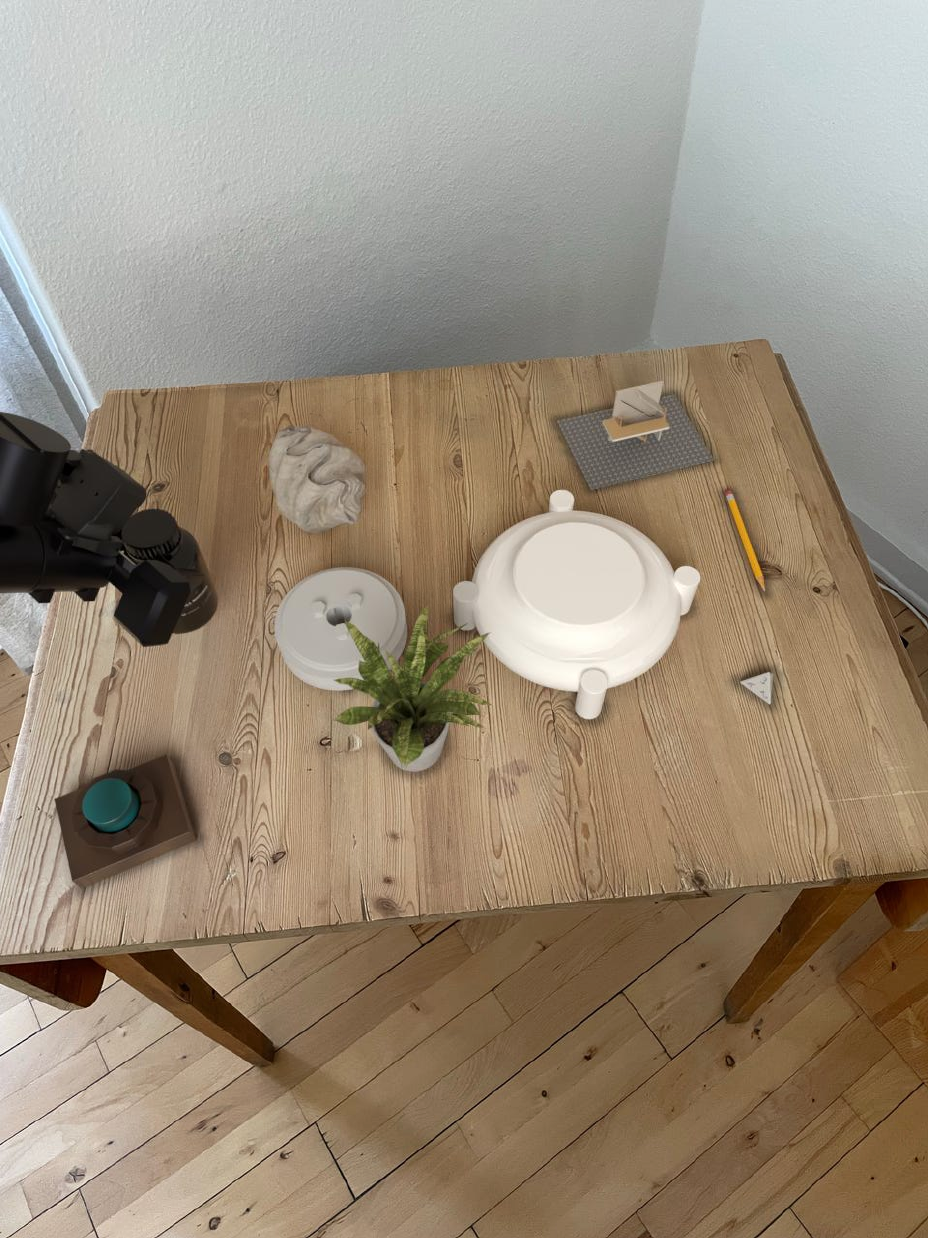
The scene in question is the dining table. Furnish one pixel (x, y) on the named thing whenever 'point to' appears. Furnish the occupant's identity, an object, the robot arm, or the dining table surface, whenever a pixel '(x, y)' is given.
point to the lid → (338, 624)
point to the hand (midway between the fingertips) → (177, 557)
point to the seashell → (315, 479)
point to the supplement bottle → (172, 560)
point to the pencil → (745, 539)
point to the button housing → (143, 839)
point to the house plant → (411, 696)
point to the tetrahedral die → (760, 686)
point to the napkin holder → (634, 438)
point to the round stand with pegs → (575, 601)
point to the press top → (110, 805)
